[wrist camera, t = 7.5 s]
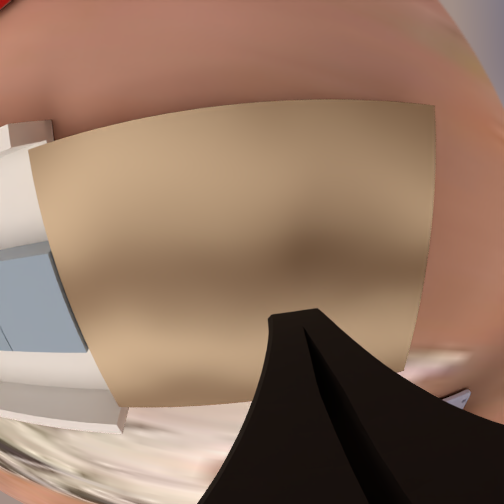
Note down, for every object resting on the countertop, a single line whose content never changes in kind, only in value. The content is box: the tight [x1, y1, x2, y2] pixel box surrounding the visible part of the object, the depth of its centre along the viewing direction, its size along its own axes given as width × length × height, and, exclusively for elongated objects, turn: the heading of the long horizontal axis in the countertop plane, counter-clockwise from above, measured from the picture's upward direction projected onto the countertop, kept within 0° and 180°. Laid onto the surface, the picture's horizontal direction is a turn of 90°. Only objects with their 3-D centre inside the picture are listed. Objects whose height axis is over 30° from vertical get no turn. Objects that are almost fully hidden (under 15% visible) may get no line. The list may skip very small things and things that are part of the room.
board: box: [28, 99, 436, 407], centre depth 12 cm, size 12×14×2 cm
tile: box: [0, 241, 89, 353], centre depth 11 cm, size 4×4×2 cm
